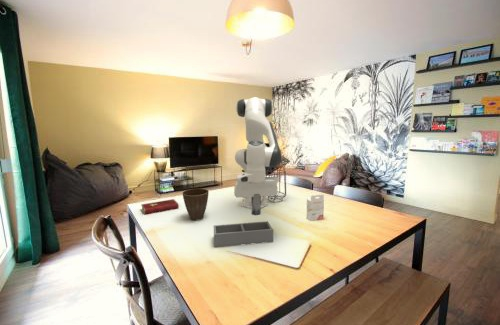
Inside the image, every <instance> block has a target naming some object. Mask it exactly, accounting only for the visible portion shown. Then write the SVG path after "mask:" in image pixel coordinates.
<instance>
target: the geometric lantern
mask: <svg viewBox="0 0 500 325" xmlns="http://www.w3.org/2000/svg"><path fill="white" fill-rule="evenodd" d="M290 162H291V160H289V159H288V158H287V157H284V156H283V155H282V162H281V163H280V164H281V165H280V164H279V165H278V166H277V167H275V170H273V169H272V167H267V169H265V176H269V173H271V174H273V176H275V177H277V178H278V180H279V181H278V182H279V183H278V184H279V185H278V186H279V188H278V189H279V190H278V193H277V195H274V196H267V200H268V201H270V202H272V203H275V201H276V199H277V201H276V203H280V202H281V201H282V200H283V199H284V198H285V197H286V196H287V171H286V166H287V164H288V163H290ZM278 167H279V169H278ZM281 169H283V170H281ZM278 173H279V174H278ZM282 173H283V177H284V178H283V179H284V192H281V174H282ZM275 174H276V175H275ZM279 194H283V196H282V195H279Z"/></svg>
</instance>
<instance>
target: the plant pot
mask: <svg viewBox="0 0 500 325" xmlns="http://www.w3.org/2000/svg"><path fill="white" fill-rule="evenodd" d="M209 191H210V190H208V189H206V188H192V189H191V188H190V189H186V190H184V191H182V199H183V202H184V206H185V209H186V212H187V214H188V216H189V218H190V220H192V221H200V220H203V219H204V216H205V214H206V209H207V206H208V201H209V200H208V199H209Z"/></svg>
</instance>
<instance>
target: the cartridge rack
mask: <svg viewBox="0 0 500 325" xmlns="http://www.w3.org/2000/svg"><path fill="white" fill-rule="evenodd" d="M272 241H273V242H274V229H273V227H272V226H271V224H270V223H269V221H268V220H267V221H266V220H265V221H255V222H242V223H228V224H215V225H213V245H214V246H213V247H214V248H221V247H223V248H224V247H232V246H242V245H241V244H245V245H252V244H251V243H256V244H263V243H262V242H267V243H273V242H272Z"/></svg>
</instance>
